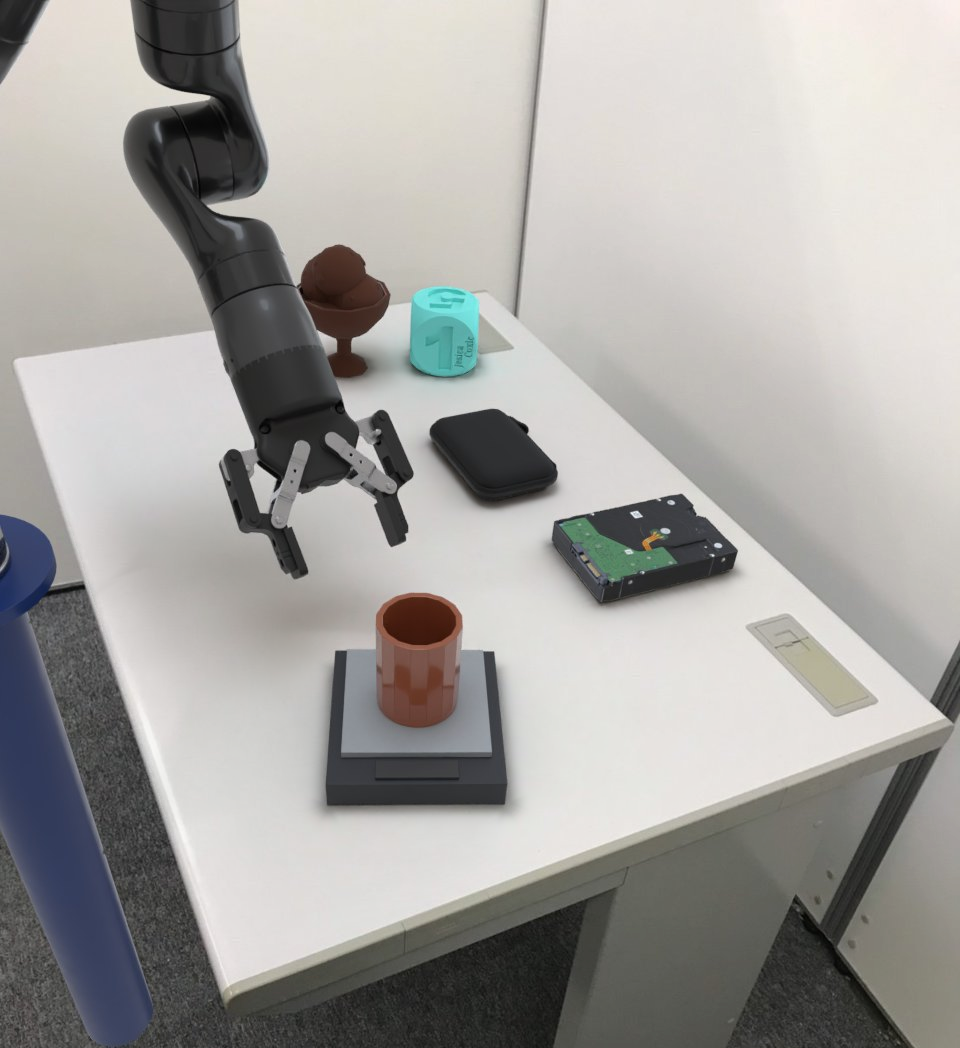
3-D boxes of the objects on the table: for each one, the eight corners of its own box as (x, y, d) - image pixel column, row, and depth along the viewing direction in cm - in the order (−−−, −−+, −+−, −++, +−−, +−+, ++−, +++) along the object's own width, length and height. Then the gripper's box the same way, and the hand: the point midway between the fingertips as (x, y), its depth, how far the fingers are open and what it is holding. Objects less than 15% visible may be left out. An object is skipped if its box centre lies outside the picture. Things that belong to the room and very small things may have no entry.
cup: (375, 727, 74) (374, 649, 69) (377, 669, 79) (376, 591, 74) (459, 727, 75) (464, 650, 70) (455, 670, 80) (460, 592, 74)
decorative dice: (409, 375, 121) (410, 312, 116) (411, 345, 127) (412, 283, 122) (475, 378, 121) (479, 316, 116) (474, 348, 127) (478, 287, 122)
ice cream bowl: (406, 374, 121) (408, 251, 111) (324, 396, 116) (318, 269, 106) (363, 339, 127) (360, 219, 117) (283, 358, 122) (273, 234, 112)
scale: (326, 805, 73) (325, 779, 71) (336, 671, 83) (334, 644, 81) (504, 804, 74) (508, 778, 72) (492, 671, 84) (495, 645, 82)
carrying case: (572, 490, 105) (508, 422, 114) (576, 465, 103) (510, 398, 112) (481, 511, 101) (422, 439, 111) (483, 485, 99) (423, 414, 109)
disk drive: (675, 514, 103) (548, 542, 98) (680, 491, 101) (551, 518, 96) (734, 573, 96) (601, 607, 91) (741, 549, 94) (605, 582, 89)
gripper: (197, 364, 70) (280, 581, 71) (374, 324, 77) (448, 524, 78) (178, 398, 77) (254, 596, 78) (343, 359, 83) (411, 542, 84)
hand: (351, 560), depth 78 cm, fingers open, 8 cm apart
